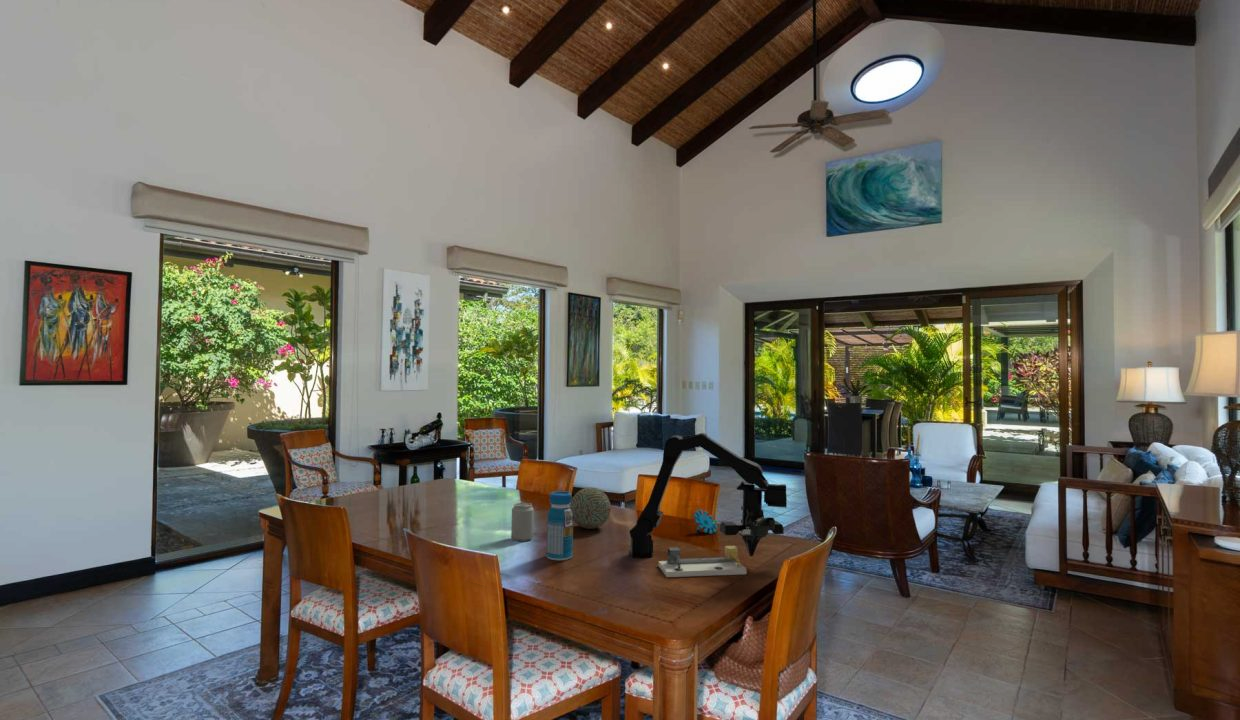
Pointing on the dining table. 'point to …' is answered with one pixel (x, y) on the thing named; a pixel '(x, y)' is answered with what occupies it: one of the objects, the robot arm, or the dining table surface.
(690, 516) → the dining table surface
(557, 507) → the beverage bottle
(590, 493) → the decorative sphere
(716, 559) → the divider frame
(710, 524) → the gear
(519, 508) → the can
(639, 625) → the dining table surface
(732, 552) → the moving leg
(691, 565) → the plate
